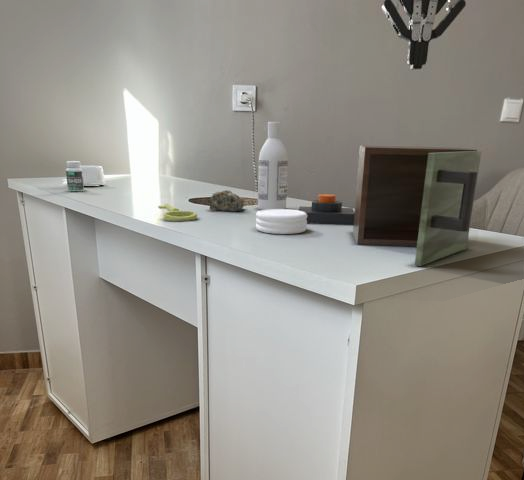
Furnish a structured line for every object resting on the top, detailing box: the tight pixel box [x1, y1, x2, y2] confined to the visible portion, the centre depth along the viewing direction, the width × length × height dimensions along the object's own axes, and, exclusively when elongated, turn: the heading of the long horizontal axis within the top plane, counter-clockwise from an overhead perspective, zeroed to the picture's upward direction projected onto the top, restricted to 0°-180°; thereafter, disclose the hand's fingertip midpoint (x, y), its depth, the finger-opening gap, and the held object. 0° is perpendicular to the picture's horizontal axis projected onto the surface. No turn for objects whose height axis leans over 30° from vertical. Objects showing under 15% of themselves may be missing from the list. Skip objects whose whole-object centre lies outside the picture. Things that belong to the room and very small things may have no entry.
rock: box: [208, 189, 245, 212], centre depth 134 cm, size 7×8×4 cm
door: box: [414, 150, 482, 267], centre depth 84 cm, size 6×18×16 cm, turn 140°
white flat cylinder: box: [255, 208, 308, 235], centre depth 109 cm, size 10×10×4 cm
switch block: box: [298, 199, 355, 226], centre depth 122 cm, size 12×10×4 cm
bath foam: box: [257, 121, 289, 211], centre depth 134 cm, size 7×7×20 cm
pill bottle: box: [65, 160, 85, 192], centre depth 165 cm, size 5×5×8 cm
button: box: [318, 193, 336, 203], centre depth 121 cm, size 4×4×2 cm
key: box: [157, 203, 198, 222], centre depth 121 cm, size 7×12×2 cm, turn 45°
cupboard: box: [352, 144, 478, 248], centre depth 99 cm, size 12×18×16 cm, turn 85°
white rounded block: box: [80, 165, 106, 186], centre depth 182 cm, size 12×10×6 cm
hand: (416, 68), depth 89 cm, fingers closed
